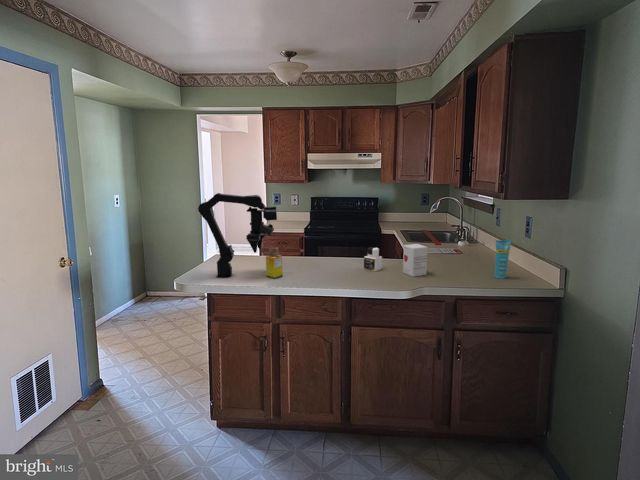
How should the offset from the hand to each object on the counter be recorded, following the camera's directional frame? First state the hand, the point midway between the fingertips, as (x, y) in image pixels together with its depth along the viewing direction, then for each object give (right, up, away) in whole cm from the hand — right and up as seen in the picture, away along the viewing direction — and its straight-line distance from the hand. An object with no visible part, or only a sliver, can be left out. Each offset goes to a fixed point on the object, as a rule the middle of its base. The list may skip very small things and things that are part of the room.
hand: (257, 250), depth 210 cm
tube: (+123, -14, -3) cm, 124 cm away
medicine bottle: (+61, -11, +13) cm, 63 cm away
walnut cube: (+9, -3, -2) cm, 9 cm away
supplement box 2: (+81, -12, +4) cm, 82 cm away
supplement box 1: (+9, -14, 0) cm, 16 cm away
